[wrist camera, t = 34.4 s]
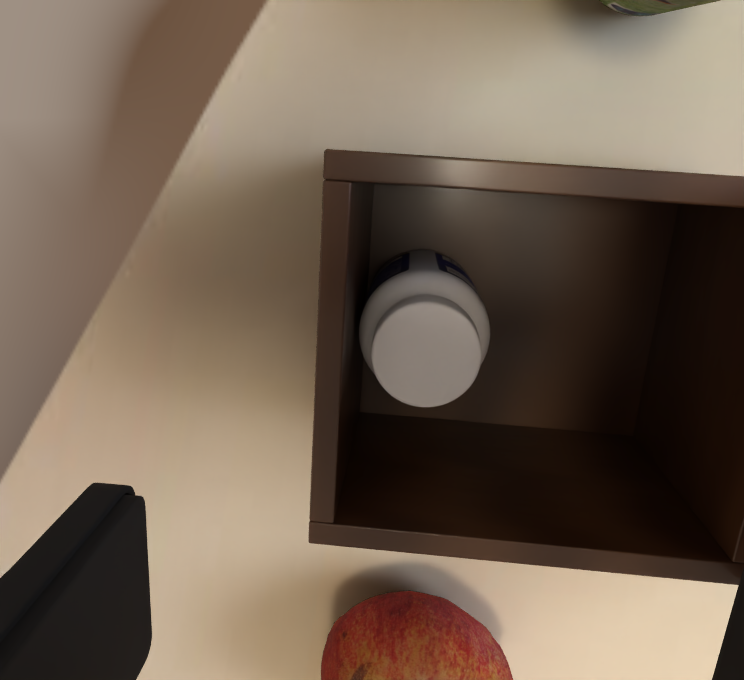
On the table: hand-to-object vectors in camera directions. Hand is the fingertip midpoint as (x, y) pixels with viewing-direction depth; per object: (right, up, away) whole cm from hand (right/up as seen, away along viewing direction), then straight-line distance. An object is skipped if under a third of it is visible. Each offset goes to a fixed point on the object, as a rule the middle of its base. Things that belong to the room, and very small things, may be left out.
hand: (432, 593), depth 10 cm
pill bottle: (+1, +6, +21) cm, 22 cm away
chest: (+6, +6, +22) cm, 23 cm away
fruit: (+2, -13, +28) cm, 31 cm away
